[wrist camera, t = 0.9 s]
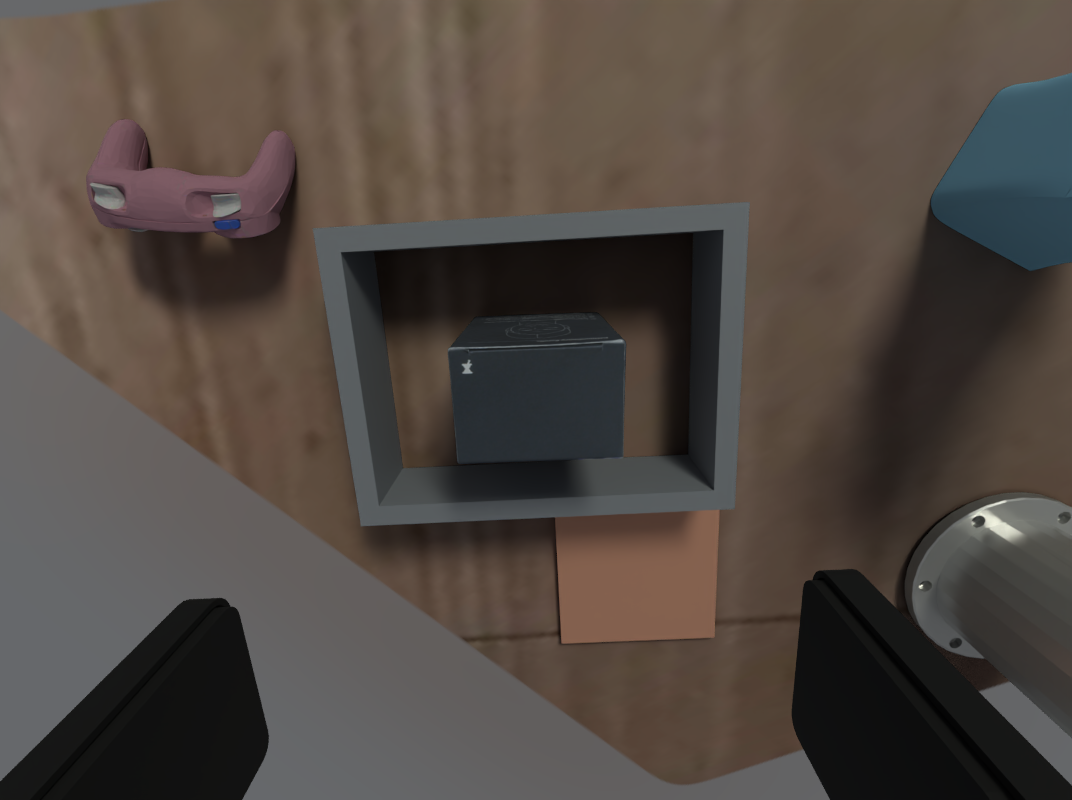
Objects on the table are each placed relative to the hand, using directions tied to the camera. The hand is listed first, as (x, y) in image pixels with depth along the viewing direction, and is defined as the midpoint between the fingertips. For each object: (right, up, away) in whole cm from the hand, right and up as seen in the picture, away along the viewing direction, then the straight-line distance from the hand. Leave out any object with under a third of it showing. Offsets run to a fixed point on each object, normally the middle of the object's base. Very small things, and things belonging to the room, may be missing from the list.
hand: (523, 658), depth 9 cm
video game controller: (-18, +17, +22) cm, 33 cm away
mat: (+7, -8, +29) cm, 31 cm away
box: (0, +7, +25) cm, 26 cm away
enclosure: (0, +7, +25) cm, 26 cm away
